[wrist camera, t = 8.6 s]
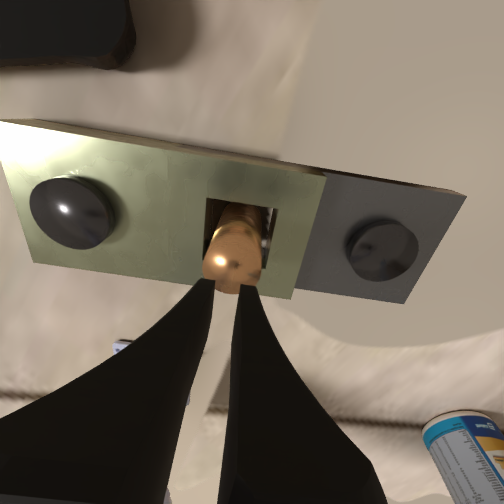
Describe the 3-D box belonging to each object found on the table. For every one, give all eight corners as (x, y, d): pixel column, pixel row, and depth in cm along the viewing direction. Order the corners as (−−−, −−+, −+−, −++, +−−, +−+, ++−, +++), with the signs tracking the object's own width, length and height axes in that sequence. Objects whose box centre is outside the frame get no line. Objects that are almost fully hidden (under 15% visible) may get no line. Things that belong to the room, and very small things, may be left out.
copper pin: (259, 239, 19) (258, 296, 13) (221, 236, 19) (202, 292, 13) (263, 201, 18) (264, 246, 12) (221, 198, 18) (201, 241, 12)
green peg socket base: (394, 292, 22) (420, 327, 18) (62, 243, 20) (21, 270, 17) (451, 190, 17) (500, 209, 14) (33, 118, 16) (-32, 119, 12)
